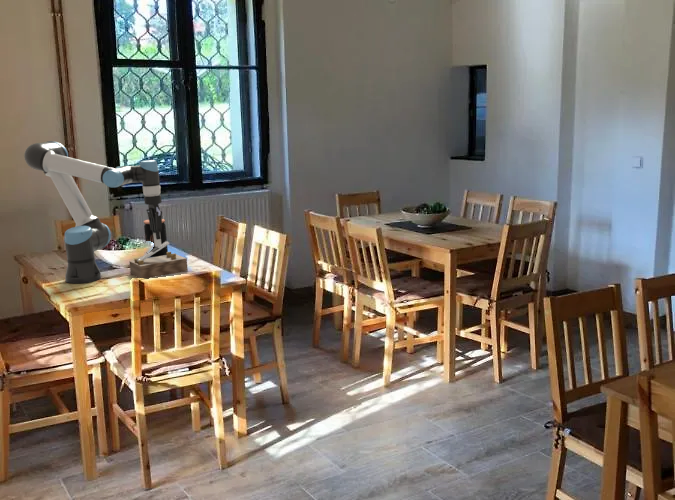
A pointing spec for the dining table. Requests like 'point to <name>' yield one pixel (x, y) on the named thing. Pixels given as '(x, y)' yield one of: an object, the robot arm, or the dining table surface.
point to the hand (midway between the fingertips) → (158, 245)
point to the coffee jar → (150, 237)
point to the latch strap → (153, 251)
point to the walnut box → (158, 265)
